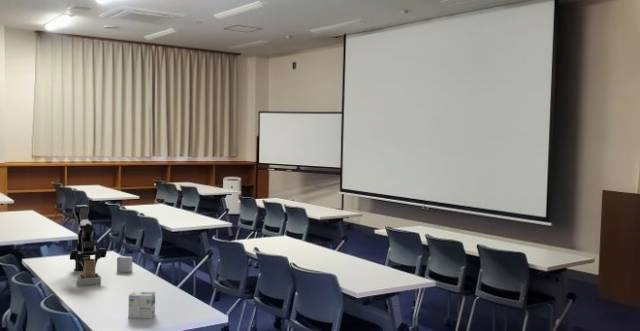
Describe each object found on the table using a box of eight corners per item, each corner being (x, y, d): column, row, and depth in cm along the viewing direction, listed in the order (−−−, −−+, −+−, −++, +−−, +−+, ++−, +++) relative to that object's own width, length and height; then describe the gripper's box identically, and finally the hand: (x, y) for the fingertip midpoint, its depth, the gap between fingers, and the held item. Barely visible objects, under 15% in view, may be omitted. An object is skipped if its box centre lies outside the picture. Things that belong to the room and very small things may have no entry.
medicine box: (132, 270, 344) (132, 256, 343) (129, 272, 339) (129, 258, 339) (120, 270, 345) (120, 255, 344) (116, 271, 340) (116, 257, 340)
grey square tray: (77, 281, 315) (77, 274, 315) (97, 279, 320) (97, 272, 320) (80, 286, 306) (80, 279, 306) (100, 284, 311) (100, 277, 311)
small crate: (83, 277, 314) (83, 259, 313) (93, 276, 317) (93, 258, 316) (84, 279, 309) (84, 261, 309) (95, 278, 312) (95, 260, 311)
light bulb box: (155, 314, 264) (155, 291, 263) (151, 318, 257) (152, 295, 256) (132, 313, 263) (132, 290, 263) (127, 318, 257) (128, 294, 256)
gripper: (70, 235, 310) (72, 260, 302) (106, 234, 320) (109, 257, 311) (68, 247, 318) (70, 271, 309) (103, 245, 327) (106, 268, 318)
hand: (89, 266), depth 311 cm, fingers closed on small crate, 5 cm apart
